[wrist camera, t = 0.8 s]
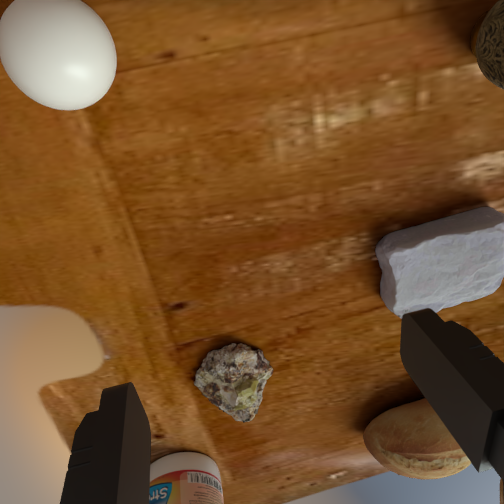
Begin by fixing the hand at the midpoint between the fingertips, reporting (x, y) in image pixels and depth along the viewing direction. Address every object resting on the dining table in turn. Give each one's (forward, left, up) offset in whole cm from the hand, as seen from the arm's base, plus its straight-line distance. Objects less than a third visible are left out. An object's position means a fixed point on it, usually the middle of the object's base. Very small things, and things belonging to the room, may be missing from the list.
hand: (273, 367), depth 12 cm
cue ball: (-8, -7, -19) cm, 21 cm away
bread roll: (+37, +20, -22) cm, 47 cm away
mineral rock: (+24, -1, -22) cm, 33 cm away
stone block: (+15, +20, -22) cm, 33 cm away
